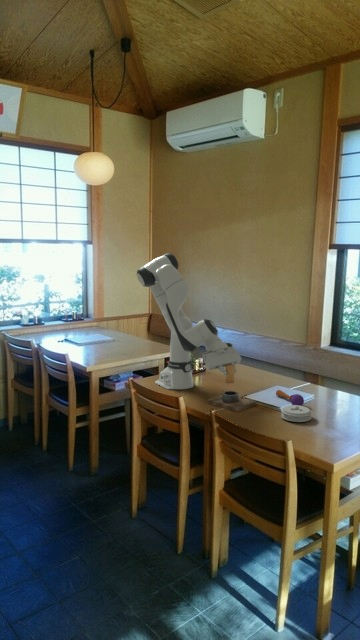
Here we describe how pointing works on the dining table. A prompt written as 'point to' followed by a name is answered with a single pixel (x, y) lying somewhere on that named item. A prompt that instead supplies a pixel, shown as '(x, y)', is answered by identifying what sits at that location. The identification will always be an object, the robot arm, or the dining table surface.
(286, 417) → the lid
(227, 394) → the grey stone bowl
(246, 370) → the dining table surface
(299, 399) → the kendama
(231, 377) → the plug
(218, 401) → the board
